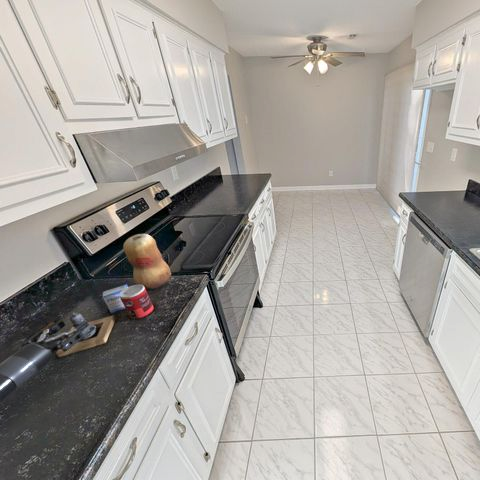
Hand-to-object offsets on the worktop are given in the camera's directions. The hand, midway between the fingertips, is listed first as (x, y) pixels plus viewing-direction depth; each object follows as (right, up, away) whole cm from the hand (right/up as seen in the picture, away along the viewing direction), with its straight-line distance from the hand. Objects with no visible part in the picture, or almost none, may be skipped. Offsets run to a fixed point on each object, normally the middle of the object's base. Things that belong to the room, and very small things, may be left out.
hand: (74, 322), depth 84 cm
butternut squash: (+8, +6, +31) cm, 32 cm away
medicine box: (+2, 0, +19) cm, 19 cm away
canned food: (+12, -1, +15) cm, 19 cm away
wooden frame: (+1, -7, +5) cm, 9 cm away
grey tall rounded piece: (+1, -7, +5) cm, 9 cm away
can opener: (-20, -6, +9) cm, 23 cm away
